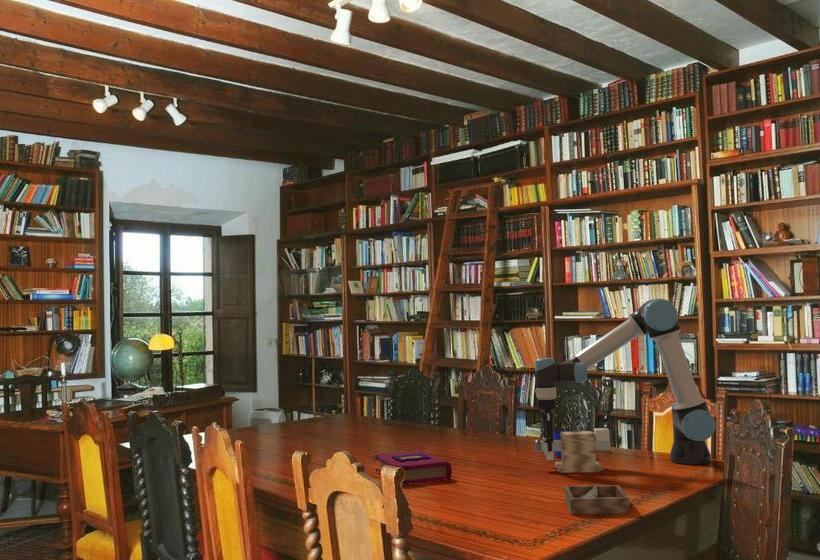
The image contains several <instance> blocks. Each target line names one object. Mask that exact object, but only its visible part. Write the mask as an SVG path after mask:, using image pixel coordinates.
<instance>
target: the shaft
mask: <svg viewBox="0 0 820 560" xmlns="http://www.w3.org/2000/svg"><path fill="white" fill-rule="evenodd" d="M544 441H546V440H544V439H542V440H541V439H535V440H534V448H535V453H541V452H544V451H546V443H544ZM611 444H612V443H611V440H610V441H596V440H595V451H611V450H612V447H611ZM553 450H554V452H555V451H563V450H562V440H554V441H553Z"/></svg>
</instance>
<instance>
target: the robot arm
mask: <svg viewBox="0 0 820 560" xmlns="http://www.w3.org/2000/svg"><path fill="white" fill-rule="evenodd" d="M678 318H679V314H678V310H677V308H676V306H675V305H674V304H673V303H672V302H671V301H669V300H667V299H666V298H665V299H664V298H655V299H650V300H647V301H645V302H644V303H643V304H642V305H641V306H639V308H637V309H636V310H635V311H633V312H632V313H631V314H629V315H628V316H627V319H626V320H625V321H623V322H622V323H620V324H619V325H618V326H616V327H615V328H613V329H611V330H610V331H609V332H606V334H604V335H602V336H601V337H599V338H598V339H596V340H595V341H594V342H592V343H591V344H589V345H587V346H586V347H585V348H583V349H582V350H580V351H579V352H577V353H576V354H574V355H573V356H571V357H570V358H568V359H566V360H564V361H563V362H555V359H554V358H553V357H540V358H536V359H535V361H534V374H535V375H534V376H535V379H534V380H535V390H534V393H535V394H536V398H537V399H536V408H537V410H542V411H541V420H542V435H543V436H542V437H543V440H546V441H544V443H546V451H543V455H544V456H546V458H545V459H546V461H554V460H555V455H554V453H555V451H554V450H553V441H554V437H553V432H554V431H553V429H554V427H553V423H554V421H553V417H554V415H553V413H552V412H551V411H552V410H557V399H556V398H557V387H556V385H557V384H556V383H558V384H559V383H578V384H579V383H585V382H587V381H588V370H589V369H590V368H592V367H594V366H596V365H597V364H598V363H600V362H601V361H602V360H604V359H607V357H608V356H610V355H612V354H614V353H615V352H617V350H620V349H621V348H622V347H624V346H625V345H627V344H629V343H630V342H632V341H633V340H635V339H636V338H637V337H639V336H640V337H641V336H642V337H644V336H645V335H647V334H648V337H649V339H650V340H653V341H654V342H655V345H656V347H657V350H658V354H659V356H660V359H661V362H662V364H663V367H664V372H665V374H666V377H667V379H668V383H669V386H670V389H671V391H672V394H673V397H674V400H675V401H674V402H673V403H672V404H671V417H672V432H673V433H672V434H673V441H672V445H671V449H670V451H669V461H670V462H671V463H675V464H681V465H691V466H692V465H693V466H695V465H707V464H710V463H712V454H711V452H710V449H709V447H708V444H707V441H706V440H708V439H710V438H711V437H712V436H713V435H714V433H715V431H716V427H717V426H716V421H715V420H716V419H715V418H714V416H713V415H712V414H711V413H710V411H709V410H710V409H709V406H708V404H707V401H706V399H705V398H702V397H701V396H700V394H699V392H698V391H699V390H698V388H697V386H696V383H695V380H694V376H693V373H692V371H691V368H690V365H689V362H688V359H687V356H686V354H685V353H686V352H685V349H684V348H683V347H684V346H683V344H682V341H681V339H680V336H679V335H680V332H681V331H682V329H681V325H680V323H679V320H678Z"/></svg>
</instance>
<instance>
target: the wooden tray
mask: <svg viewBox="0 0 820 560" xmlns="http://www.w3.org/2000/svg"><path fill="white" fill-rule="evenodd" d="M595 485H596V484H595ZM595 485H563V491H564V492H563V495H564V502H565V505H566V506H567V509H568V511H569V513H570V515H626V514H627V515H630V514H631V508H630V507H631V506H630V497H629V496H628V494H626V493H625V491H624V490H623V489H622V487H621V486H620V484H613V485H612V484H610V485H609V484H603V485H602V484H601V485H599V484H597V485H598V488H599V493H600V497H601V498H581V497H582V496H583V495H585V494H587V493H588V492H589V491H590V490H591V489H593V487H594V486H595Z"/></svg>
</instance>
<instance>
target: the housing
mask: <svg viewBox="0 0 820 560" xmlns="http://www.w3.org/2000/svg"><path fill="white" fill-rule="evenodd" d="M560 437H561V440H562V450H563V451H561V457H562V458H561V457H560V458H561V461H555V466H556V469H557V471H558V472H559V474H561V473H562V474H563V473H568V474H569V473H601V472H600V471H603V472H604V467H602V465H601V464H600V462H599V461H597V460H596V456H597V455H596V450H595V436H594V431H591V430H590V431H589V430H588V431H587V430H586V431H571V432H560Z"/></svg>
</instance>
